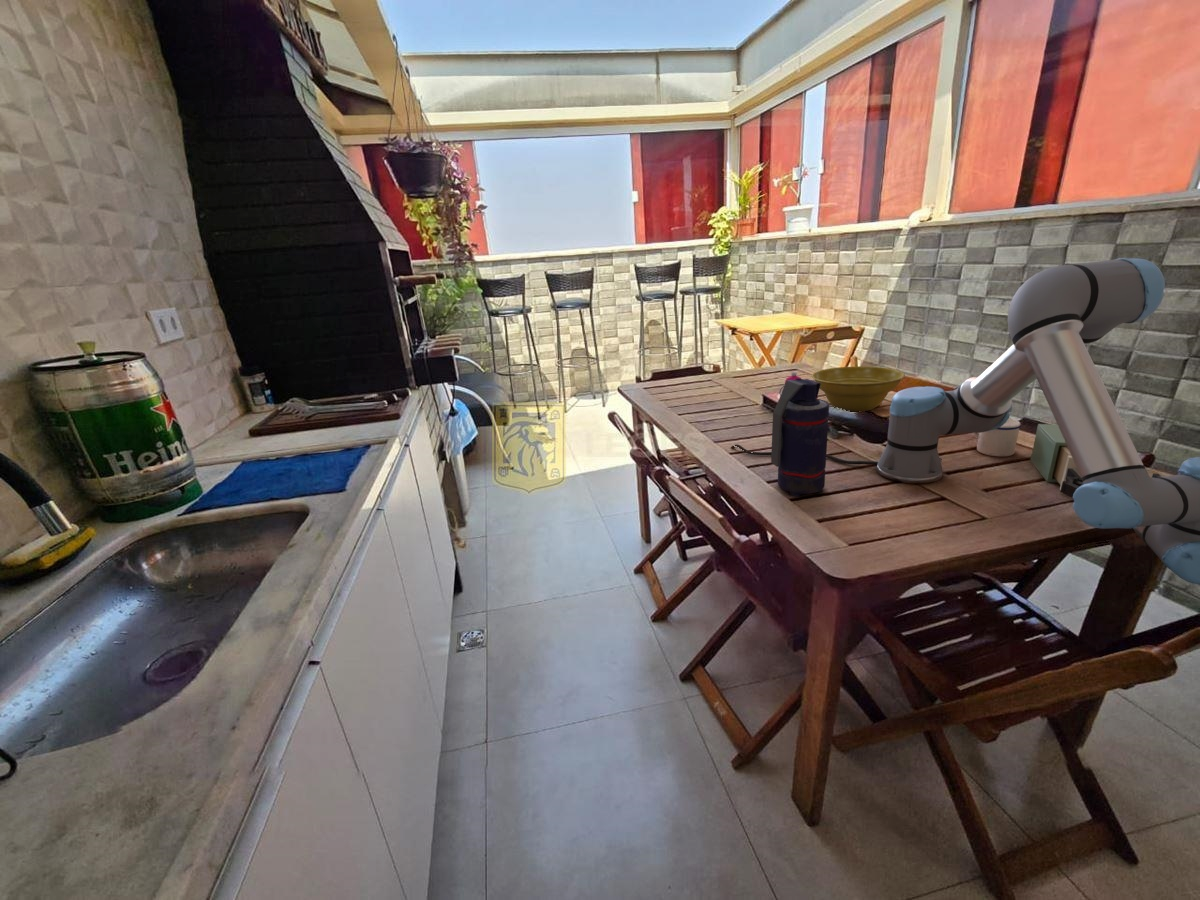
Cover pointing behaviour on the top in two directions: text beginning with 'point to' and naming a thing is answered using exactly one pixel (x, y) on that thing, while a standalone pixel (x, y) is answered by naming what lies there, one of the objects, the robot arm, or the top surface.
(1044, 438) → the cabinet
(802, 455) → the grenade
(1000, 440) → the teacup with lid
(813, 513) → the top surface
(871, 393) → the planter bowl
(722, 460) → the top surface
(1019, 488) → the top surface
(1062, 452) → the drawer
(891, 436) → the robot arm
